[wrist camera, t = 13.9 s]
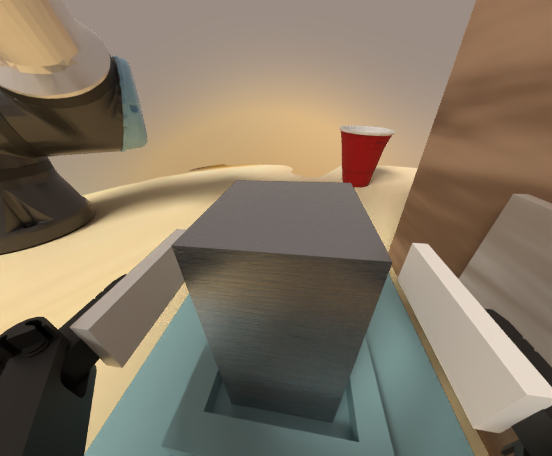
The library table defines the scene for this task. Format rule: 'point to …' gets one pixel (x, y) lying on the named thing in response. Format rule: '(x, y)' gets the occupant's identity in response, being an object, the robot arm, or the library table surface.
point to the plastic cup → (362, 152)
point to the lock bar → (285, 290)
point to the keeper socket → (276, 426)
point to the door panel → (493, 174)
